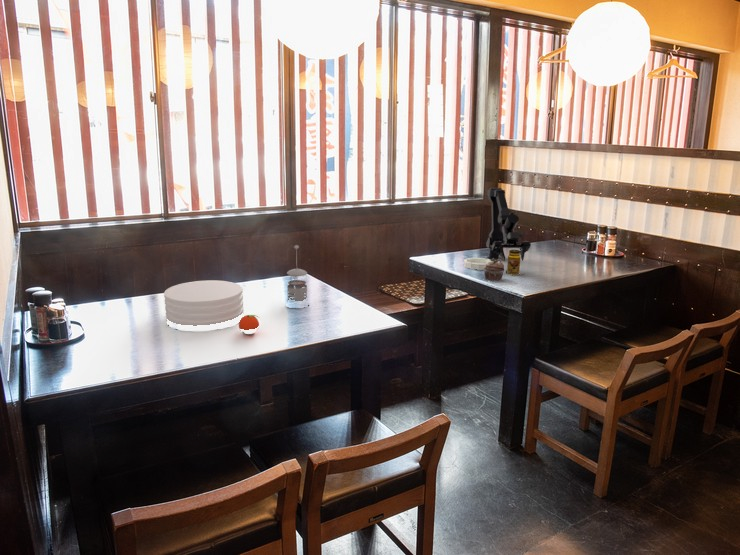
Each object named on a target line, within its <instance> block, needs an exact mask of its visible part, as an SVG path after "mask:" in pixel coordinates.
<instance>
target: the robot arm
mask: <svg viewBox="0 0 740 555" xmlns="http://www.w3.org/2000/svg"><path fill="white" fill-rule="evenodd" d="M486 195H487V200H488V201H489V203H490V204H491V213H490V214H491V231H490V232H489V234H488V238H487V240H486V243H485V244H486V245H485V246H486V247H487V248H488V249H489V250H488V256H487V257H486V259H490V260H491V259H493V258H494V259H495V260H496V259H501V260H503V261H504V262H505V261H506V255H505V250H504V249H505V248H506V249H519V251H520V260H521V261H524V258H525V254H526V252H528V251H529V250H530V248H531V246H532V244H531V242H530V241H529V240H524V241H521V242H520V243H518V242H519V240H520V239H522V238H523V237H524V235H523V231H522V230H519V231H515V229H516V226H517V225H518V223H519V220H520V218H519V217H518V216H519V215H517V214H515V212H512V211H511V210H510V208H509V207H508V203H507V198H506V190H505V189H503V188H501V187H490V188H489V189H487V191H486ZM501 226H502V227H501Z"/></svg>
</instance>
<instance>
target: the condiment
mask: <svg viewBox="0 0 740 555" xmlns="http://www.w3.org/2000/svg"><path fill="white" fill-rule="evenodd" d="M520 251H521V250H520V249H510V250H509V251H508V256H507V263H506V264H507V265H506V266H507V267H506V271H507V273H508V274H512V275H513V276H519V275H518V274H519V273H520V275H523V272H522V273H521V272H520V266H521V255H520ZM508 274H507V275H508Z"/></svg>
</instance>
